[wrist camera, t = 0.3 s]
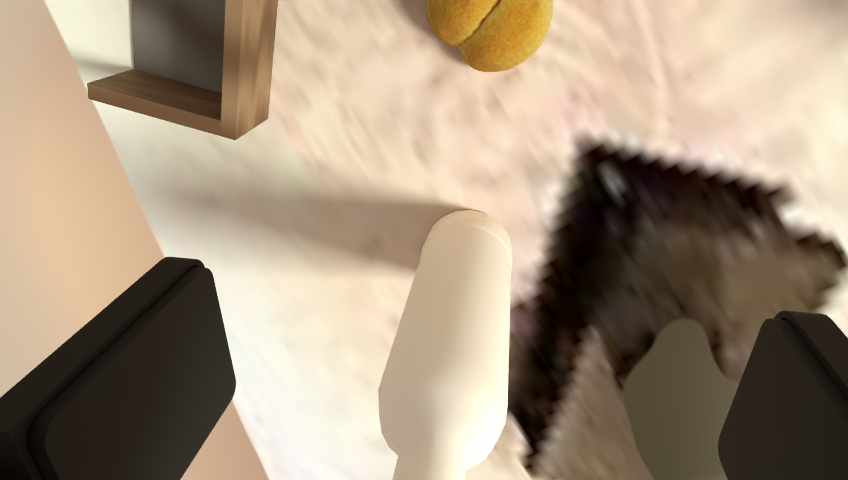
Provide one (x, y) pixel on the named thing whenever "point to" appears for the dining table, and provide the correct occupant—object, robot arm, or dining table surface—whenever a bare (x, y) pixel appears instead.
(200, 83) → the u rest
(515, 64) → the bread roll
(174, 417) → the robot arm
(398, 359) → the bottle
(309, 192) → the dining table surface
